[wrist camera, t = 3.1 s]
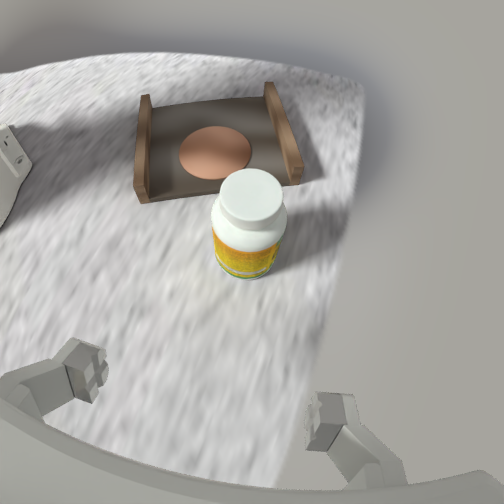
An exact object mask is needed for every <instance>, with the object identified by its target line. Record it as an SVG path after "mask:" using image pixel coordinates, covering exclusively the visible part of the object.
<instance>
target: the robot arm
mask: <svg viewBox="0 0 504 504" xmlns="http://www.w3.org/2000/svg"><path fill="white" fill-rule="evenodd" d="M31 167H32V162H31V161H30V159H29V158H28V156H27V155H26V153H25V152H24V150H23V149H22V147H21V145H20V144H19V142H18V141H17V139H16V138H15V136H14V134H13V133H12V131H11V130H10V128H9V127H8V126H7V124H1V125H0V227H1V226H2V224H3V223H4V221H5V220H6V218H7V216H8V214H9V212H10V211H11V208H12V206H13V204H14V201H15V199H16V196H17V193H18V190H19V187H20V185H21V183H22V182H23V180H24V179H25V178H26V176H27V175H28V173H29V171H30V170H31ZM106 356H107V355H106V350H105V349H104V348H102V347H99V346H96V345H93V344H90V343H88V342H85V341H82V340H79V339H76V338H74V337H73V338H70V339H69V340H68V341H67V342H66V344H65V345H64V346H63V347H62V348H61V349H60V350H59V352H58V353H57V354H56V355H55V356H54V357H53V358H52V360H51V359H46V360H43V361H40V362H37V363H34V364H31V365H28V366H25V367H22V368H20V369H17V370H14V371H11V372H8V373H5V374H4V375H3V376H2V377H1V378H0V504H504V485H503V484H502V483H501V482H499V481H498V480H497V479H496V478H494V477H493V476H492V475H490V474H488V473H487V472H485V471H483V470H477V471H472V472H469V473H465V474H461V475H456V476H453V477H448V478H443V479H439V480H433V481H428V482H422V483H416V484H410V485H408V483H407V479H406V475H405V471H404V467H403V463H402V460H400V458H398V457H397V456H396V455H395V454H394V453H393V452H392V451H391V450H390V449H389V448H388V447H387V446H386V445H385V444H383V443H382V442H381V441H380V440H379V439H378V438H377V437H376V436H375V435H374V434H373V433H372V432H371V431H370V430H369V429H368V428H366V426H364V425H361V423H360V419H359V414H358V410H357V406H356V402H355V398H354V395H353V394H339V393H326V392H315V393H314V394H313V396H312V398H311V399H312V404H310V405H309V406H308V407H307V410H306V413H305V418H304V428H305V429H306V430H307V434H306V436H305V448H306V450H308V451H321V452H327V454H328V456H329V457H330V458H331V460H332V461H333V462H334V464H335V465H336V467H337V468H338V469H339V471H340V472H341V473H342V475H343V476H344V478H345V479H346V480H347V482H348V485H347V486H346V487H345V488H344V489H343V490H332V491H331V490H330V491H321V490H290V489H276V488H265V487H256V486H247V485H240V484H233V483H227V482H221V481H215V480H209V479H204V478H199V477H195V476H190V475H186V474H181V473H177V472H173V471H169V470H166V469H162V468H158V467H155V466H151V465H148V464H144V463H141V462H138V461H135V460H132V459H129V458H126V457H123V456H120V455H117V454H114V453H112V452H109V451H106V450H104V449H101V448H99V447H96V446H93V445H91V444H89V443H86V442H84V441H81V440H79V439H77V438H75V437H72V436H70V435H68V434H66V433H64V432H62V431H59V430H57V429H55V428H53V427H51V426H49V425H47V424H45V422H44V420H43V418H42V416H44V415H46V414H47V413H49V412H51V411H53V410H55V409H56V408H58V407H60V406H62V405H63V404H65V403H67V402H69V401H71V400H72V399H74V397H75V398H78V399H80V400H83V401H86V402H88V403H91V404H92V403H93V402H94V400H95V398H96V397H97V395H98V394H99V391H98V388H99V387H101V386H103V385H104V384H105V382H106V380H107V377H108V371H109V368H108V364H107V362H106V361H105V360H104V359H105V358H106Z"/></svg>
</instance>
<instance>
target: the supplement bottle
mask: <svg viewBox="0 0 504 504" xmlns="http://www.w3.org/2000/svg"><path fill="white" fill-rule="evenodd" d="M211 222H212V230H213V239H214V248H215V256H216V259H217V262H218V264H219V266H220V267H221V268H222V269H223V270H224V271H225V272H226V273H227V274H228V275H230V276H231V277H233V278H236V279H240V280H253V279H257V278H259V277H261V276H262V275H264V274H265V273H266V272H267V271H268V270H269V269H270V268H271V267H272V265H273V263H274V261H275V258H276V255H277V252H278V249H279V246H280V243H281V240H282V237H283V234H284V232H285V229H286V224H287V212H286V208H285V205H284V203H283V189H282V187H281V185H280V183H279V181H278V180H277V179H276V178H275V177H274V176H273V175H271V174H270V173H268V172H266V171H263V170H259V169H251V168H248V169H242V170H238V171H236V172H234V173H232V174H230V175H229V176H228V177H227V178H226V179H225V180H224V182H223V183H222V185H221V188H220V195H219V196H218V197H217V199H216V200H215V202H214V205H213V207H212V212H211Z"/></svg>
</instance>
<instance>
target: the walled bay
mask: <svg viewBox="0 0 504 504" xmlns="http://www.w3.org/2000/svg"><path fill="white" fill-rule="evenodd" d="M248 168H251V169H259V170H263V171H266V172H268V173H270V174H271V175H273V176H274V177H275V178H276V179H277V180H278V181H279V183H280V185H281V186H290V185H299V182H300V179H301V176H302V172H303V169H304V164H303V161H302V158H301V155H300V153H299V150H298V147H297V144H296V141H295V138H294V136H293V133H292V130H291V127H290V125H289V122H288V119H287V117H286V114H285V111H284V109H283V106H282V103H281V101H280V98H279V96H278V93H277V91H276V88H275V85H274V83H273V82H265V86H264V95H263V97H245V98H231V99H220V100H209V101H200V102H192V103H184V104H177V105H170V106H164V107H157V108H152V104H151V100H150V95H149V94H146V95H141V101H140V109H139V118H138V127H137V138H136V149H135V163H134V180H133V187H134V190H135V192H136V194H137V197H138V199H139V201H140V203H141V204H144V203H150V202H157V201H164V200H170V199H177V198H184V197H192V196H199V195H207V194H215V193H220V188H221V185H222V183H223V182H224V180H225V179H226V178H227V177H228V176H229V175H230V174H232V173H234V172H236V171H238V170H242V169H248Z"/></svg>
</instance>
